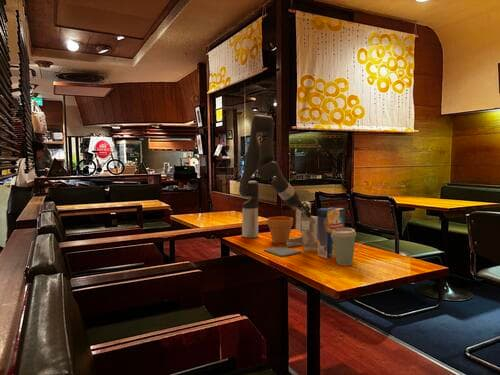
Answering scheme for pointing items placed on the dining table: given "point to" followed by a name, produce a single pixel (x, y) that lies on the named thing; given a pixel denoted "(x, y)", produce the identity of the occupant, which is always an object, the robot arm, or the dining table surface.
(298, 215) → the syrup box
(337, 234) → the disposable coffee cup
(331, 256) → the beverage box
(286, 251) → the mat
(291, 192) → the robot arm
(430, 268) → the dining table surface
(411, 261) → the dining table surface
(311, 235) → the cubby
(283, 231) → the flower pot
